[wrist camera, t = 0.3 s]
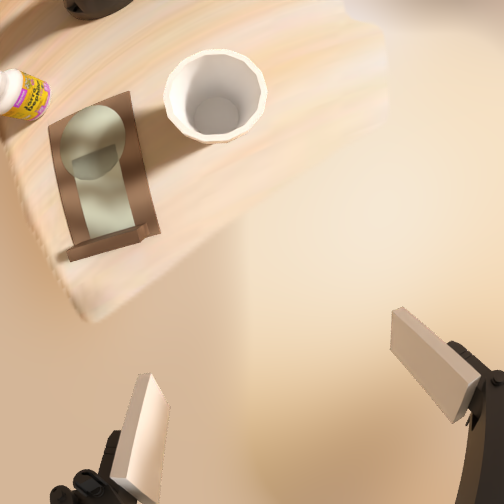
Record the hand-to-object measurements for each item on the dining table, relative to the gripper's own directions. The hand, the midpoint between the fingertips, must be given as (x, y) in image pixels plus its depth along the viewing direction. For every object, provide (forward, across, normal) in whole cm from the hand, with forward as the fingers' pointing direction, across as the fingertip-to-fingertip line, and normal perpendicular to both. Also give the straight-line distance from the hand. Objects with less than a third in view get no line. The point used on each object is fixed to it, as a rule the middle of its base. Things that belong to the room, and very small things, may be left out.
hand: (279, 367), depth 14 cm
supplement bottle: (+28, -26, +30) cm, 49 cm away
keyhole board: (+27, -17, +14) cm, 35 cm away
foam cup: (+28, +1, +17) cm, 32 cm away
